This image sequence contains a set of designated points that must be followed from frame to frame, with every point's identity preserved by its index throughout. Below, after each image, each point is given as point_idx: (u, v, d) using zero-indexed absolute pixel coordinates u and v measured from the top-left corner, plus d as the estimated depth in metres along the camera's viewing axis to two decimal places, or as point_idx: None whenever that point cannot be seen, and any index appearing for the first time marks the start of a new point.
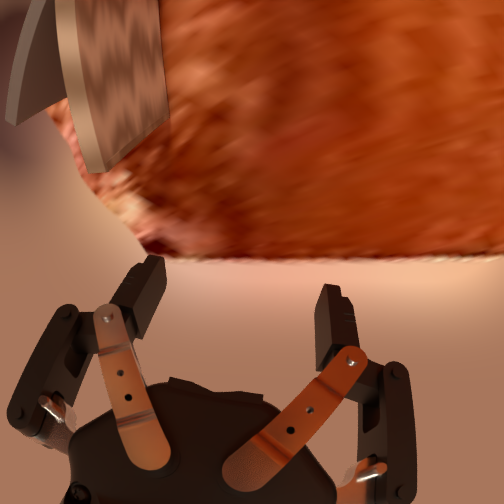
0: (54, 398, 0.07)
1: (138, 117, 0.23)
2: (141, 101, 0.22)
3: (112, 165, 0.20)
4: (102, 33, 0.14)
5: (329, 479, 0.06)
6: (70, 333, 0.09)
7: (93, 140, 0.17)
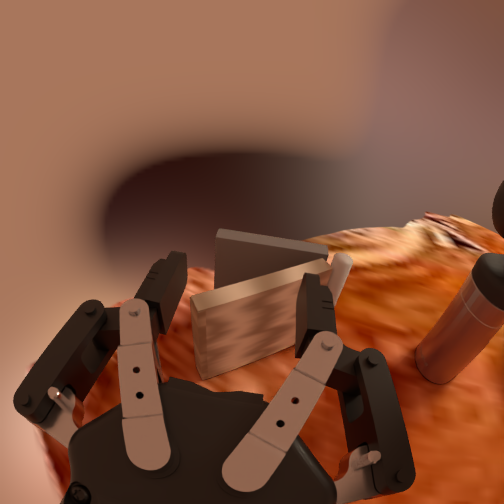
0: (65, 391, 0.07)
1: (219, 345, 0.29)
2: (231, 346, 0.31)
3: (198, 318, 0.25)
4: (295, 299, 0.31)
5: (329, 479, 0.06)
6: (92, 329, 0.09)
7: (226, 299, 0.26)
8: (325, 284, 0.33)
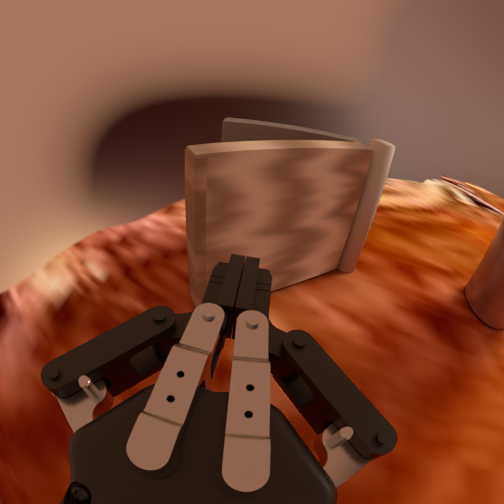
0: (99, 383, 0.08)
1: (225, 242, 0.21)
2: (242, 249, 0.22)
3: (195, 172, 0.16)
4: (330, 184, 0.22)
5: (329, 479, 0.06)
6: (152, 338, 0.09)
7: (238, 148, 0.17)
8: (365, 174, 0.23)
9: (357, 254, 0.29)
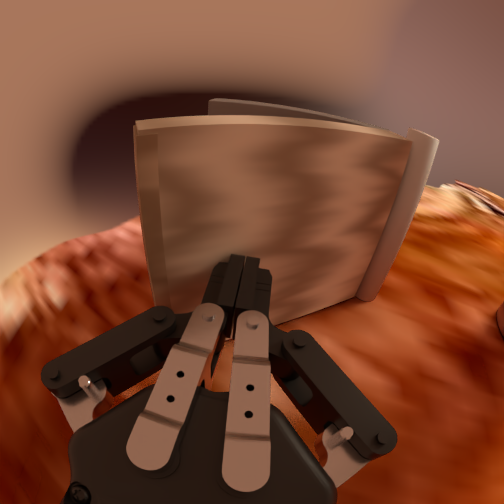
0: (99, 383, 0.08)
1: (197, 267, 0.14)
2: None
3: (139, 158, 0.09)
4: (355, 185, 0.15)
5: (329, 479, 0.06)
6: (152, 338, 0.09)
7: (212, 122, 0.10)
8: (400, 174, 0.16)
9: (382, 279, 0.22)
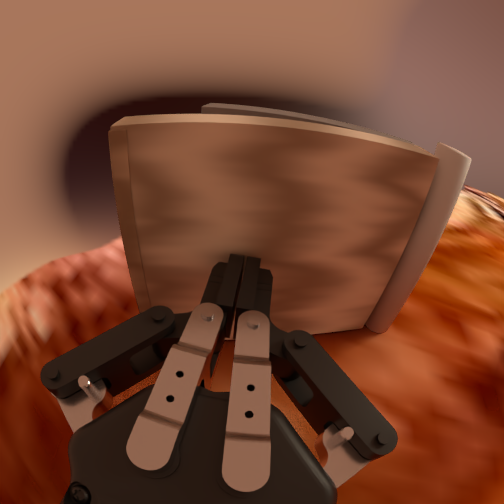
0: (98, 383, 0.08)
1: (170, 260, 0.14)
2: (198, 275, 0.15)
3: (112, 151, 0.10)
4: (358, 201, 0.13)
5: (329, 479, 0.06)
6: (151, 338, 0.09)
7: (181, 120, 0.10)
8: (422, 196, 0.13)
9: (398, 311, 0.19)
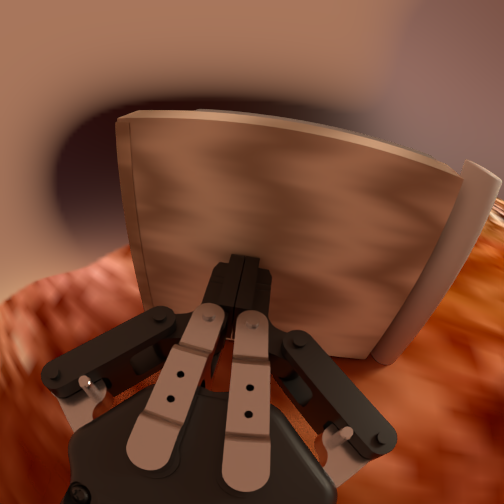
0: (99, 383, 0.08)
1: (166, 247, 0.15)
2: (191, 267, 0.15)
3: (118, 140, 0.11)
4: (359, 216, 0.12)
5: (329, 479, 0.06)
6: (152, 338, 0.09)
7: (176, 116, 0.11)
8: (441, 222, 0.11)
9: (408, 343, 0.16)
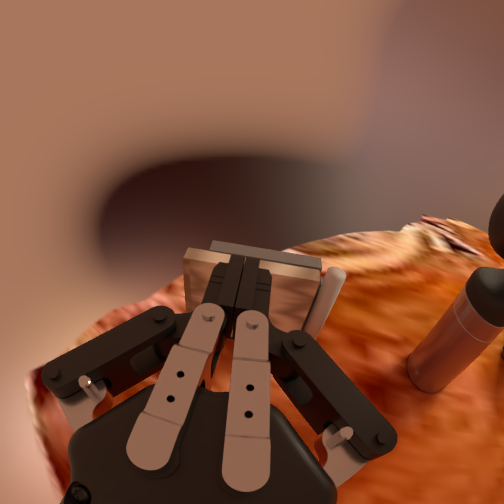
0: (99, 383, 0.08)
1: None
2: None
3: (184, 264, 0.33)
4: (276, 294, 0.34)
5: (329, 479, 0.06)
6: (152, 338, 0.09)
7: (208, 260, 0.32)
8: (312, 295, 0.33)
9: None
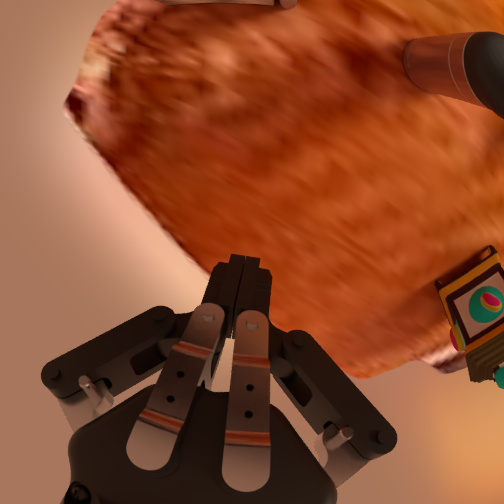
0: (99, 383, 0.08)
1: None
2: None
3: None
4: None
5: (329, 479, 0.06)
6: (152, 338, 0.09)
7: None
8: None
9: (291, 4, 0.26)
